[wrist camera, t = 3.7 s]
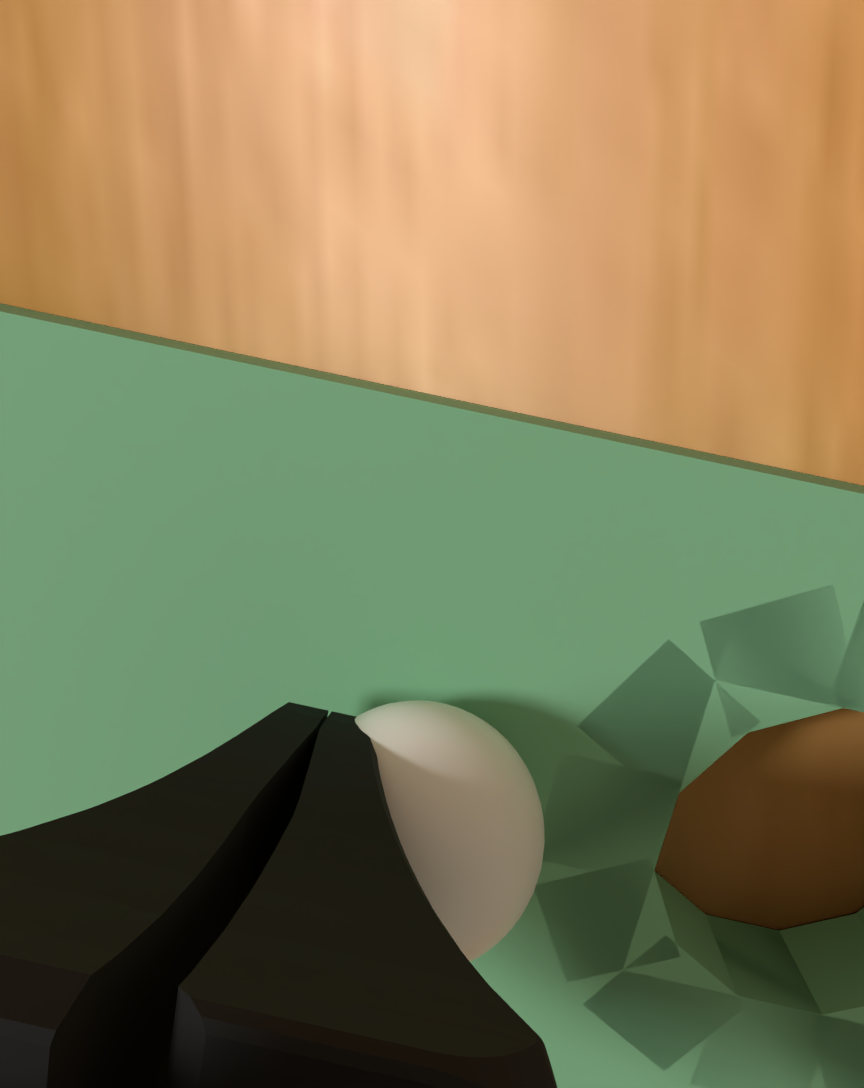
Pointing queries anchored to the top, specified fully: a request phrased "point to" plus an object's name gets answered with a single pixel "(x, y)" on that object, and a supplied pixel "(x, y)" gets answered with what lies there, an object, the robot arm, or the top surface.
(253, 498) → the green
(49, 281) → the top surface
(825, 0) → the top surface
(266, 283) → the top surface
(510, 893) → the ball
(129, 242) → the top surface
